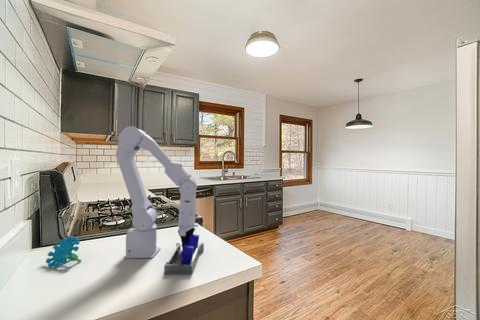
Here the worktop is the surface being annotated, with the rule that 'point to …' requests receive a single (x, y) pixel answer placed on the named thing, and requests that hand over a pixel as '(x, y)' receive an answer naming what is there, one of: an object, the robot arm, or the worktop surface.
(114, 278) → the worktop surface
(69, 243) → the blue knobby toy
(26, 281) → the worktop surface
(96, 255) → the worktop surface
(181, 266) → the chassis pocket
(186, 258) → the cable clip
